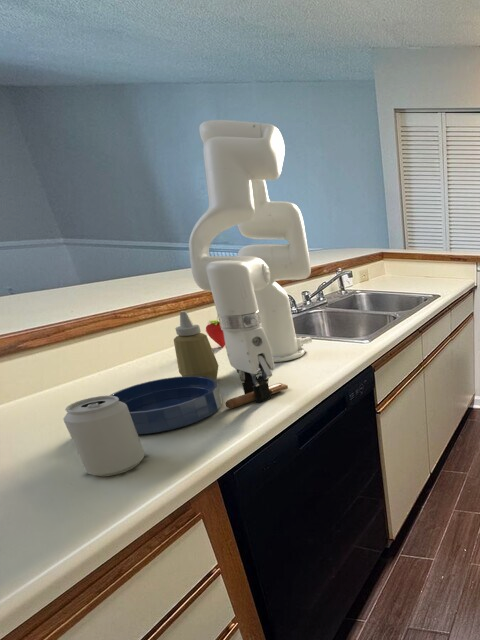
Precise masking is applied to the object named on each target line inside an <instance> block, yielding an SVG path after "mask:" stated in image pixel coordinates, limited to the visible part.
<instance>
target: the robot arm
mask: <svg viewBox="0 0 480 640" xmlns="http://www.w3.org/2000/svg"><path fill="white" fill-rule="evenodd" d="M198 131H199V137H200V139H201V142H202V144H203V146H202V153H203V161H204V170H205V180H206V189H207V199H208V208H207V210H206V211H205V212H203V214H202V215H201V216H200V217H199V218H198V220H197V221H196V223H195V224H194V226H193V228H192V230H191V233H190V235H189V239H188V252H189V260H190V268H191V273H192V277H193V280H194V282H195V284H196V286H198V287H199V288H200V289H201V290H202V291H205V292H209V293H211V295H212V299H213V303H214V307H215V311H216V314H217V316H218V318H217V320H218V321H219V323H220V327H221V330H223V333H224V340H225V346H224V347H225V350H226V355H227V359H228V361H229V364H230V366H231V367H232V368H233V369H235V370H236V372H237V374H238V376H239V380H240V382H241V385H242V389H243V393H244V394H247V393H250V392H253V391H254V395H255V399H256V400H255V402H256V403H261V402H264V401H267V400H270V399H271V397H272V394H271V395H270V391H269V386H270V385H269V382H270V381H269V379H270V378H272V377H273V372H272V370H274V369H275V363H283V362H287V361H292V360H295V359H298V358H301V357H303V356H304V355H305V353H306V352H305V349H304V348H303V346H304V345H308V344H312V342H313V339H312V337H310V336H308V337H307V336H306V337H303V338H302V337H297V335H296V330H295V325H294V324H295V323H294V319H293V313H292V308H291V303H290V297H289V295H288V292H287V291H286V290H285V289H284V288H283V287H282V286H281V285H280V284H279V283H278V281H297V280H299V281H301V280H305V279H308V278H310V276H311V272H312V267H311V259H310V253H309V247H308V241H307V234H306V229H305V228H306V227H305V222H304V217H303V215H302V212H301V209H300V208H299V207H298V205H296V204H295V203H293V202H290V201H277V200H276V201H275V200H274V201H273V200H270V198H269V192H268V188H267V183H266V181H276V180H278V179H279V178H280V176H281V173H282V170H283V169H282V168H283V164H284V159H285V151H286V149H285V142H284V138H283V136H282V133H281V131H280V130H279V128H277V127H276V126H275V125H273V124H271V123H265V122H255V121H253V122H252V121H239V120H231V119H230V120H229V119H209V120H205V121H203V122H201V124H200V125H199V127H198ZM235 226H237V228H238V231H239V233H240V234H241V236H243V237H245V238H248V239H253V240H285V241H287V242H288V244H273V243H272V244H271V243H269V244H262V243H261V244H258V243H257V244H248V245H245V246H243V247H241V248H240V249H239V250H238V252H237V255H236V256H234V255H224V256H223V255H219V256H212V255H211V256H210V248H211V244H212V243H213V241H214V239H215V238H216V237H217V236H219V235H220V234H222V233H223V232H224V231H226V230H228V229H231V228H233V227H235ZM276 281H277V282H276Z"/></svg>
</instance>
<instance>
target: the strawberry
mask: <svg viewBox="0 0 480 640" xmlns="http://www.w3.org/2000/svg"><path fill="white" fill-rule="evenodd" d="M205 332H206V333H207V334H206V335H207V336H208V337H209V338H210V339H212V341H213V342H215V344H217V345H219V346H220V347H226V346H225V340H224V333H223V330H221V327H220V323H219V319H218V315H217V317H216V320H215V319H214V320H209V321H208V324H207V325H206V326H205Z"/></svg>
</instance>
